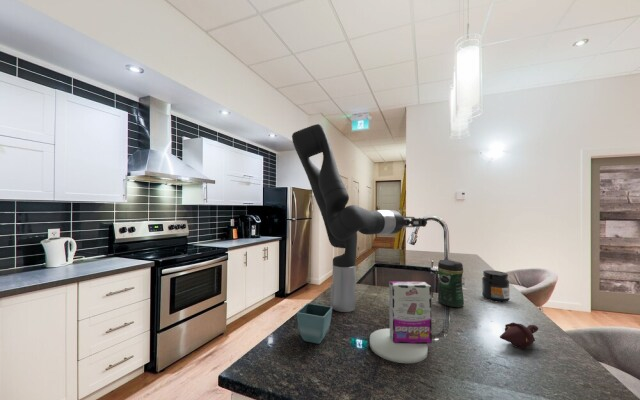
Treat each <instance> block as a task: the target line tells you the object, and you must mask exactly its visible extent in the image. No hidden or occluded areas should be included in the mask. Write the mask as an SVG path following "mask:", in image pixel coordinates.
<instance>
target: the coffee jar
mask: <svg viewBox="0 0 640 400" xmlns="http://www.w3.org/2000/svg"><path fill="white" fill-rule="evenodd" d="M437 271H438V279H439V280H438V281H439V282H438V295H437V301H438V302H439V303H441V304H443V305H446V306H448V307H451V308H462V307H463V306H464V305H465V303H464V302H465V301H464V290H463V273H464V266H463V263H462V262H460V261H455V260H452V259H451V260H450V259H440V260H439V261H438V264H437Z"/></svg>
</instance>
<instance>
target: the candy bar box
mask: <svg viewBox="0 0 640 400" xmlns="http://www.w3.org/2000/svg"><path fill="white" fill-rule="evenodd" d="M388 287H389V289H388V291H389V293H388V296H389V298H388V299H389V302H388V303H389V307H388V309H389V310H388V311H389V313H388V314H389V328H390V337H391V339H392V341H393V343H423V344H427V345H428V344H432V343H433V341H432V340H433V334H432V333H433V332H432V325H433V324H432V285H430V284H429V283H427V282H426V281H389V282H388Z"/></svg>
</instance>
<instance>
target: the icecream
mask: <svg viewBox="0 0 640 400" xmlns="http://www.w3.org/2000/svg"><path fill="white" fill-rule="evenodd" d="M504 327H505V328H504V332H503V333H502V334H501V335H500V336H499V338H500V339H501V340H504V341H506V342H509V343H510V344H511V345H512V347H515V348H517V349H519V350H525V349H527V348H530V347H531V346H532V344H534V342H535V341H536V339H535V336H534V334H535V333H536V332H538V331H539V327H538V326H537V325H536V324H529V325H528V326H525V325H524V324H522V323H516V322H510V323H507V324H505V326H504Z"/></svg>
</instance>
